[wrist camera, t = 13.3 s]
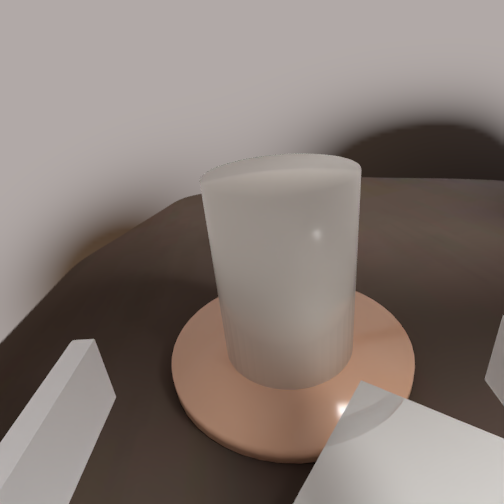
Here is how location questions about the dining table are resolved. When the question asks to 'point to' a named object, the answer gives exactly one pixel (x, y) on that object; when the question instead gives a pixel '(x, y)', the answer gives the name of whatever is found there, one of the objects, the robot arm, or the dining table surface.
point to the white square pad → (405, 457)
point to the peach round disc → (285, 401)
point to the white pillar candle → (285, 264)
